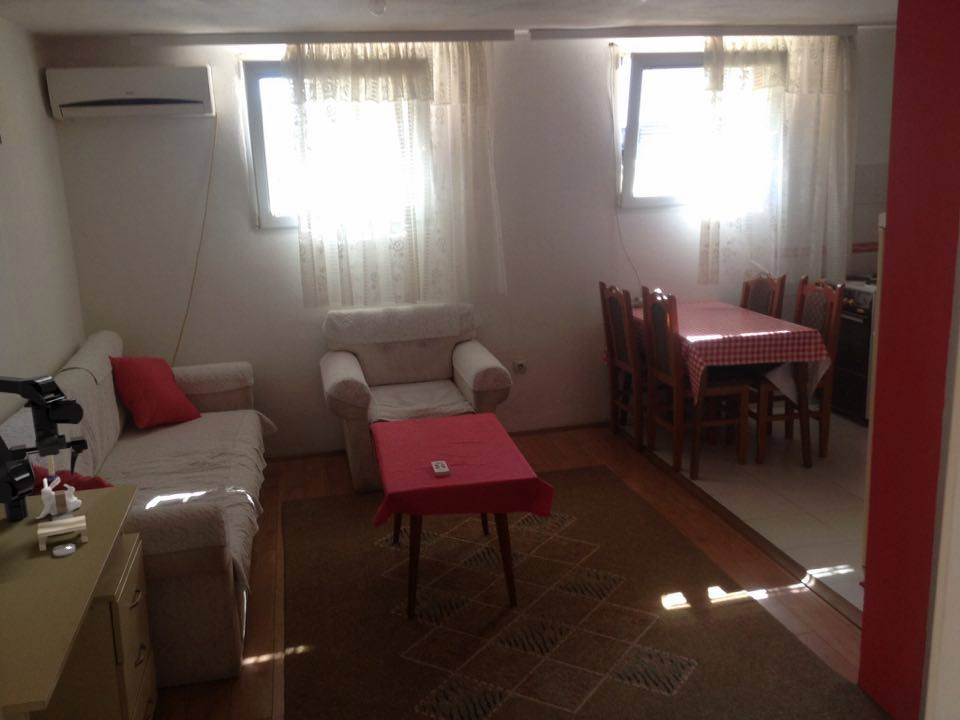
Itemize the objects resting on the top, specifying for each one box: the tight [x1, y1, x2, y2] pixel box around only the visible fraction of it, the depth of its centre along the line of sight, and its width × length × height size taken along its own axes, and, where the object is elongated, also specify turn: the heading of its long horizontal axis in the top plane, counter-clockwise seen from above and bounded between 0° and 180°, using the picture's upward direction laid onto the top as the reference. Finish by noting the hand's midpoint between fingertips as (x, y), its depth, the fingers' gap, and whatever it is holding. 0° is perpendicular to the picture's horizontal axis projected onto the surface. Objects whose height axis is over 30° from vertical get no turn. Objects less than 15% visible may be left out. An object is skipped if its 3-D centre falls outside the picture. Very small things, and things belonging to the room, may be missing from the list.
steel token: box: [52, 543, 76, 557], centre depth 208 cm, size 5×5×2 cm
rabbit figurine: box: [35, 476, 82, 520], centre depth 236 cm, size 12×8×10 cm, turn 119°
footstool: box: [37, 514, 89, 552], centre depth 215 cm, size 8×11×4 cm
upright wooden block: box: [51, 489, 75, 536], centre depth 227 cm, size 16×5×7 cm, turn 27°
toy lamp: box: [45, 455, 61, 483], centre depth 263 cm, size 5×5×17 cm
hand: (53, 478), depth 228 cm, fingers open, 9 cm apart
